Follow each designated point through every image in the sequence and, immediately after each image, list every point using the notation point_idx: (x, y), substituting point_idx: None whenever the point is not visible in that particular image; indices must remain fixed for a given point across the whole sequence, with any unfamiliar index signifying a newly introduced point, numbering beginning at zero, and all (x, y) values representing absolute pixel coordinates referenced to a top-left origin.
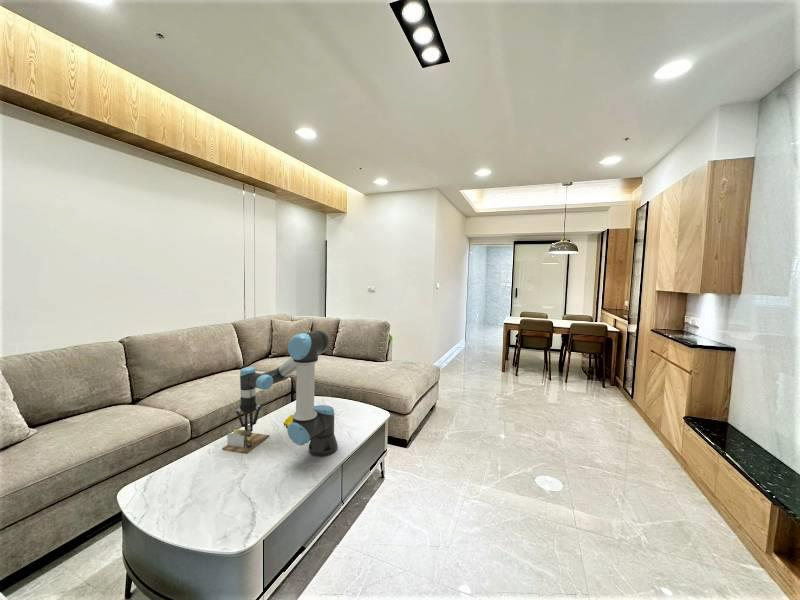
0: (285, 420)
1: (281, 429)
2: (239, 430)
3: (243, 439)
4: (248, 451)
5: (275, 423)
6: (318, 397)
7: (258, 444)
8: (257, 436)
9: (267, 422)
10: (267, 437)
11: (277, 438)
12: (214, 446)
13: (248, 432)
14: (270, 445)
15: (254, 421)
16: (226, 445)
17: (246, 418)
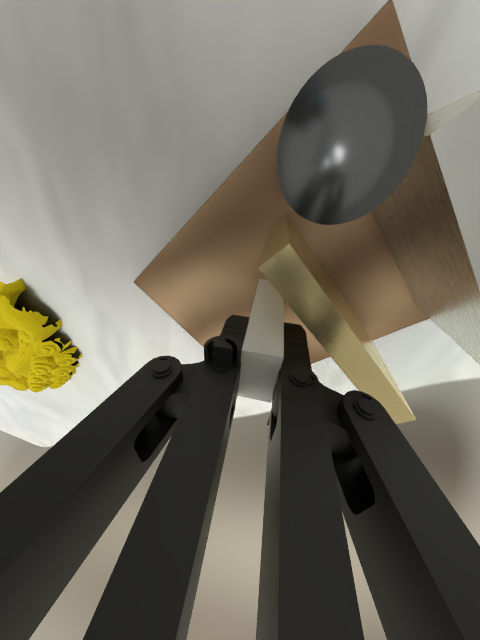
0: (64, 371)
1: (83, 319)
2: (379, 369)
3: (446, 107)
4: (354, 41)
5: (120, 383)
6: (11, 433)
7: (219, 189)
8: (206, 310)
9: None
10: (149, 266)
11: (85, 215)
12: (459, 365)
13: (389, 69)
14: (125, 99)
15: (151, 402)
16: (427, 318)
17: (312, 616)
